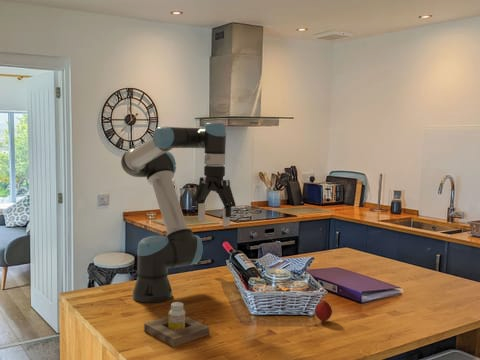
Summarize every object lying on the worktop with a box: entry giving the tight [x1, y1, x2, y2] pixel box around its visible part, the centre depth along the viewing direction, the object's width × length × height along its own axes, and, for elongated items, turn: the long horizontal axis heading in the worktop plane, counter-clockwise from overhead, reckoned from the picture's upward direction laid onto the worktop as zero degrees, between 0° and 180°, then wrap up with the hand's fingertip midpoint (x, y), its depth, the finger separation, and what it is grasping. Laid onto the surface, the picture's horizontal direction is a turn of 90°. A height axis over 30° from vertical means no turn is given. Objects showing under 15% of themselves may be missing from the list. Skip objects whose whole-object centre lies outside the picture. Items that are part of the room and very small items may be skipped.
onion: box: [314, 299, 333, 323], centre depth 168 cm, size 6×6×8 cm
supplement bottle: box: [168, 301, 186, 331], centre depth 156 cm, size 5×5×10 cm
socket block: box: [143, 315, 210, 348], centre depth 156 cm, size 16×14×2 cm
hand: (213, 223), depth 177 cm, fingers open, 13 cm apart
